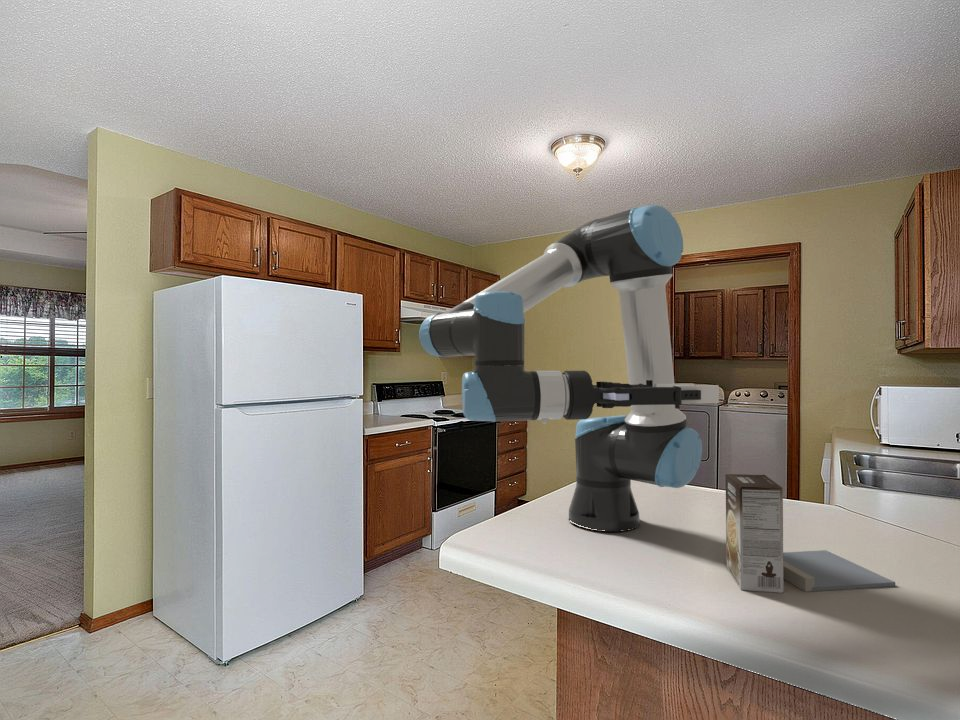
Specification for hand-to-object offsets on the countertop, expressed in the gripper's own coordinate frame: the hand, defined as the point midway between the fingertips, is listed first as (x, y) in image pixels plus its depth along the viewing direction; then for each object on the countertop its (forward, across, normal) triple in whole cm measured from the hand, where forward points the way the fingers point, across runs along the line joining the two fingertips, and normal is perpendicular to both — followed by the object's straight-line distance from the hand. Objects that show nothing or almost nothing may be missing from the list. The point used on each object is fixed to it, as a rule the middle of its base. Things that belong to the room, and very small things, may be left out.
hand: (704, 392), depth 83 cm
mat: (+21, -2, -30) cm, 37 cm away
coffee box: (+8, 0, -30) cm, 31 cm away
